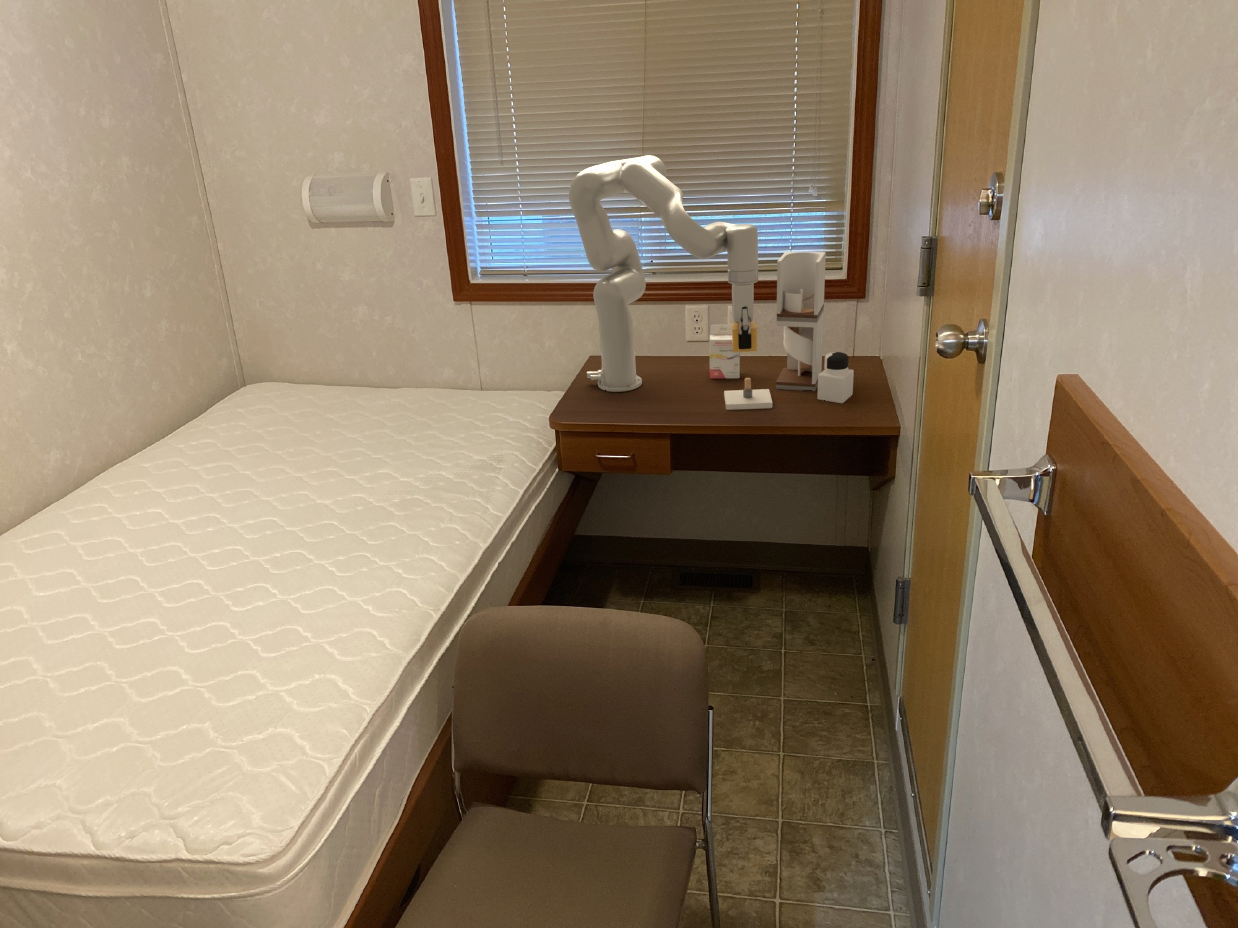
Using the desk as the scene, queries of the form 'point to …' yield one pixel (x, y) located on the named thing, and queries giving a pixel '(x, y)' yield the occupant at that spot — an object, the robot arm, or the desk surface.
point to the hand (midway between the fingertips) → (744, 344)
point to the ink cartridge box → (723, 353)
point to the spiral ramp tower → (801, 317)
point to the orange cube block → (736, 341)
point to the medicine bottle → (835, 379)
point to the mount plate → (747, 398)
